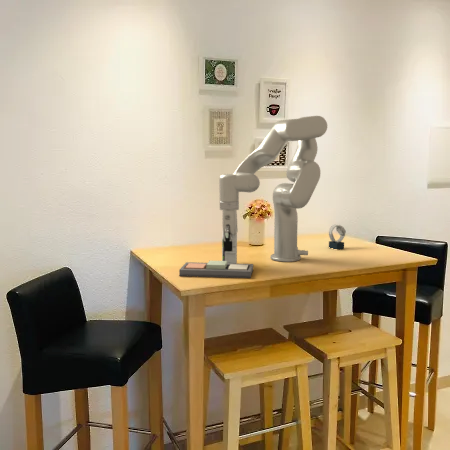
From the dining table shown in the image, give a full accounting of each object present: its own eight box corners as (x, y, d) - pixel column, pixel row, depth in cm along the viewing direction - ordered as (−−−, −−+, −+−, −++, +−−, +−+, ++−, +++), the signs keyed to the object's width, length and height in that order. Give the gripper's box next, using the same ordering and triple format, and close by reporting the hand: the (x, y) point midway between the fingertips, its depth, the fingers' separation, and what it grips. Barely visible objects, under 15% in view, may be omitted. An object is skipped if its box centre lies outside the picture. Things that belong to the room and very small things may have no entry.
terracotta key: (206, 267, 189) (206, 263, 189) (203, 271, 182) (203, 267, 182) (189, 267, 190) (188, 263, 190) (185, 271, 183) (185, 267, 183)
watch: (347, 248, 228) (348, 225, 227) (333, 250, 224) (334, 226, 223) (339, 246, 233) (339, 223, 231) (325, 248, 229) (326, 224, 228)
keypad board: (253, 270, 189) (253, 263, 189) (250, 278, 178) (250, 271, 177) (186, 268, 193) (186, 262, 193) (179, 276, 181) (179, 269, 181)
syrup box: (221, 263, 200) (221, 228, 198) (236, 263, 201) (236, 228, 198) (222, 267, 195) (222, 230, 192) (237, 266, 195) (237, 230, 193)
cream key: (248, 268, 187) (248, 264, 187) (246, 273, 180) (246, 269, 180) (230, 268, 188) (230, 264, 188) (228, 272, 181) (228, 268, 181)
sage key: (227, 264, 188) (227, 261, 188) (224, 269, 181) (224, 265, 181) (209, 264, 189) (209, 260, 188) (206, 268, 182) (206, 264, 182)
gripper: (236, 208, 185) (236, 253, 188) (241, 203, 202) (241, 244, 205) (216, 208, 186) (217, 253, 189) (222, 203, 203) (223, 244, 206)
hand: (229, 248), depth 197 cm, fingers open, 9 cm apart
